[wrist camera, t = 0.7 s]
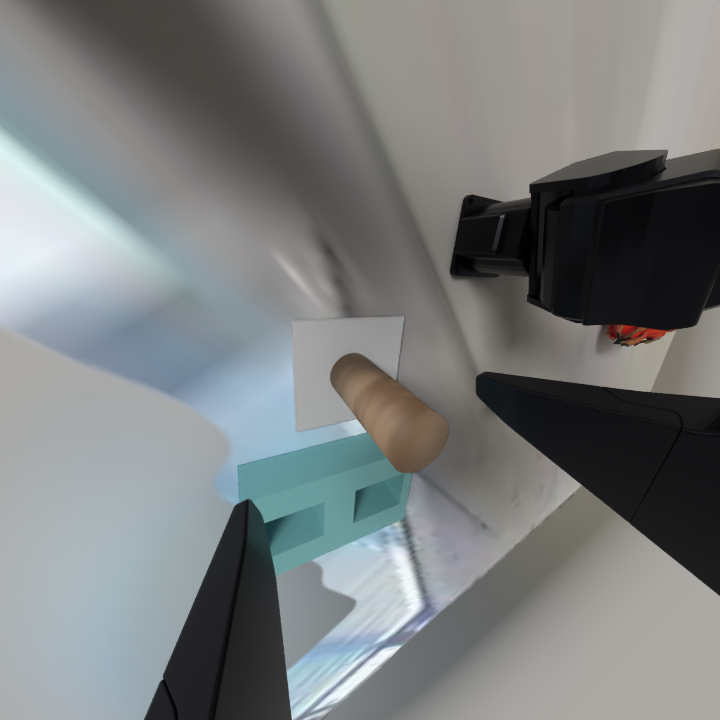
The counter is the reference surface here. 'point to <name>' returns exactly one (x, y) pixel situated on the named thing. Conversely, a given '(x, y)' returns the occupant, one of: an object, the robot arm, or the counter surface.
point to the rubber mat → (327, 345)
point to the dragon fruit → (633, 334)
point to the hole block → (323, 497)
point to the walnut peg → (389, 413)
